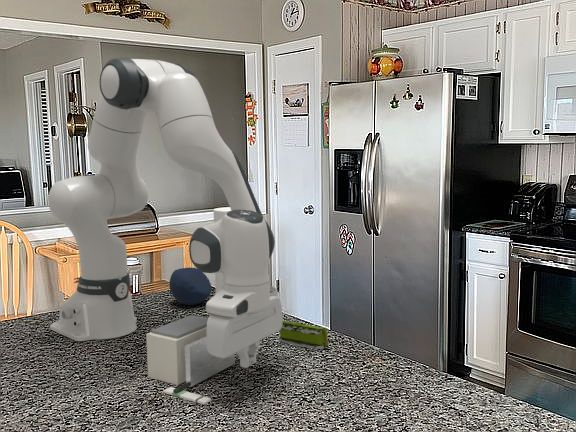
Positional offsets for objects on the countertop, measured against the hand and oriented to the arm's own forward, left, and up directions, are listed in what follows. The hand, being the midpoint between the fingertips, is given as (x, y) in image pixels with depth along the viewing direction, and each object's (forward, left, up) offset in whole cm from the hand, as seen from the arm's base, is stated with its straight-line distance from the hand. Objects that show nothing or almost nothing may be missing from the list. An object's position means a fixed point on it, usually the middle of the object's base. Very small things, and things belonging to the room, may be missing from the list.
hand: (248, 365), depth 119 cm
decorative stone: (-48, +38, -4) cm, 61 cm away
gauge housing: (-11, -2, -4) cm, 12 cm away
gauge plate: (-14, -2, -4) cm, 15 cm away
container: (-25, +28, -4) cm, 38 cm away
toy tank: (-6, +27, -5) cm, 28 cm away
